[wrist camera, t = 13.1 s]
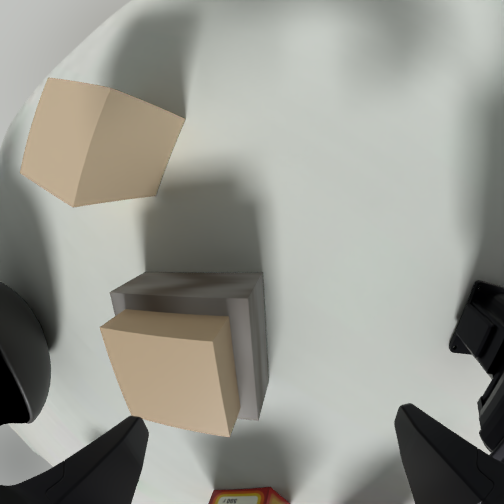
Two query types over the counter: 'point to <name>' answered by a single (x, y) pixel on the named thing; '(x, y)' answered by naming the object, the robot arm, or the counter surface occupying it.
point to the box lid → (175, 368)
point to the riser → (215, 304)
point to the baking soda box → (247, 496)
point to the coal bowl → (21, 361)
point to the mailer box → (97, 144)
